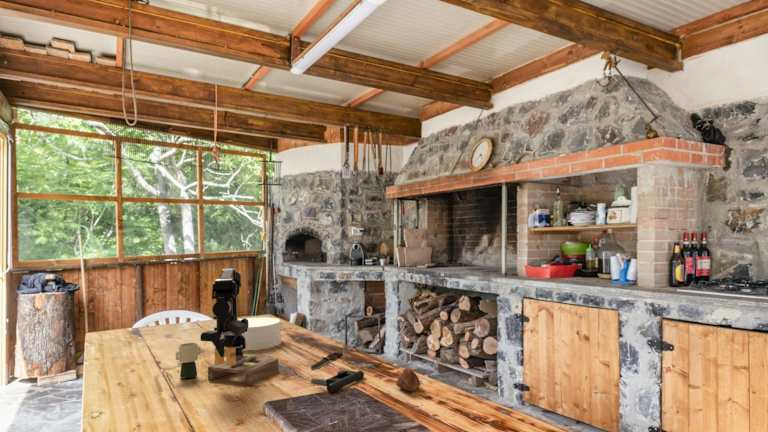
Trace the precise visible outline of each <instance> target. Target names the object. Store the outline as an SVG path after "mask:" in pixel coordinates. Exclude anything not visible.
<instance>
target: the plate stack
mask: <svg viewBox="0 0 768 432" xmlns="http://www.w3.org/2000/svg"><path fill="white" fill-rule="evenodd" d="M242 319H243V318H240V319H239V320H242ZM246 319H247V320H248V328H247V332H245V333H242V335H244V338H245V342H246V349H244V350H242V352H248V351H247V350H254V351H260V349H262V350H266V349H270V348H274V346H275V347H277V346H279V345H280V344H281V343H282V339H281V338H282V330H281V328H282V326H281V323H282V322H281V318H276V317H250V318H248V317H247V318H246ZM241 346H242V345H241Z"/></svg>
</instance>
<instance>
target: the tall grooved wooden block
mask: <svg viewBox="0 0 768 432" xmlns="http://www.w3.org/2000/svg"><path fill="white" fill-rule="evenodd" d="M226 357H227V366H232V365H234V364H236V347H224V357H220V355H219V353H218V351H217V349H216V347H214V364H215V365H220V364H222V363H224V361H225V358H226Z"/></svg>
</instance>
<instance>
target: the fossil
mask: <svg viewBox="0 0 768 432" xmlns="http://www.w3.org/2000/svg"><path fill="white" fill-rule="evenodd" d="M395 385H396V386H397V387H399V388H400V389H402V390H404V391H406V392H414V391H417V390H418V389H419V387H420V386H421V381H420V378H419V377H418V375H417V374H416V373H415V371H414V370H413V369H409V368H404V369H403V370H402V373H401V374H400V376H399V377H398V379H397V381H396V383H395Z"/></svg>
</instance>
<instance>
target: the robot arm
mask: <svg viewBox="0 0 768 432" xmlns="http://www.w3.org/2000/svg"><path fill="white" fill-rule="evenodd" d="M241 275H242V274H240V273H239V272H238V271H236V268H234V267H232V268H230V267H229V268H228V267H227V268H222V270H221V274H220V275H219V278H218V277H217V278H216V279H215V280H214V282H213V283H212V290H211V291H212V292H211V300H216V302H215V303H214V304H213V306H212V313H213V315H214V316H213V320H216V327H213V330H208V331H203V332H201V334H200V342H201V341H202V342H211V343H212V344H213V346H214V348H216V349H217V351H218V353H219V355H220V357H224V347H236V356H239V355H241V356H244V351H242V350H244V349H246V342H245V338H244V335H242V333H245V332H247V328H248V320H247V318H241V319H242V320H240V319H239V317H238V316H239V315H238V314H239V313H238V295H239V294H240V290H241V288H242V282H243V281H242V276H241ZM241 345H242V346H241ZM224 358H226V359H225V360H227V357H224Z"/></svg>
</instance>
